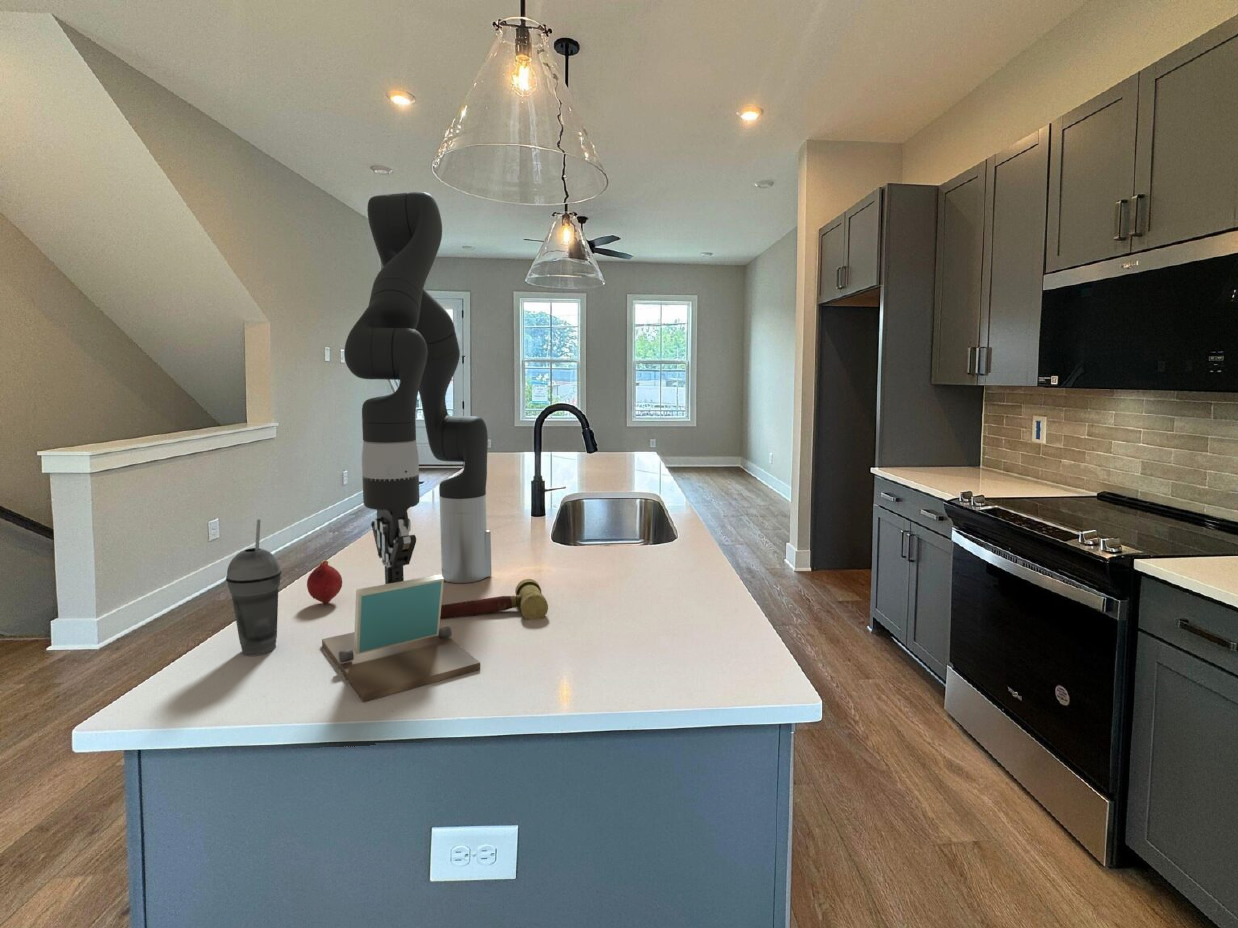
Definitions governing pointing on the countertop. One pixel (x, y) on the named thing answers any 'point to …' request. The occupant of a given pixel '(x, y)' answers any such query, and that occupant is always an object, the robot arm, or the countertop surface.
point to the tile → (397, 613)
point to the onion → (324, 582)
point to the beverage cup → (255, 597)
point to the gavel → (503, 603)
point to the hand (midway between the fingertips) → (394, 590)
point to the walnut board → (399, 663)
